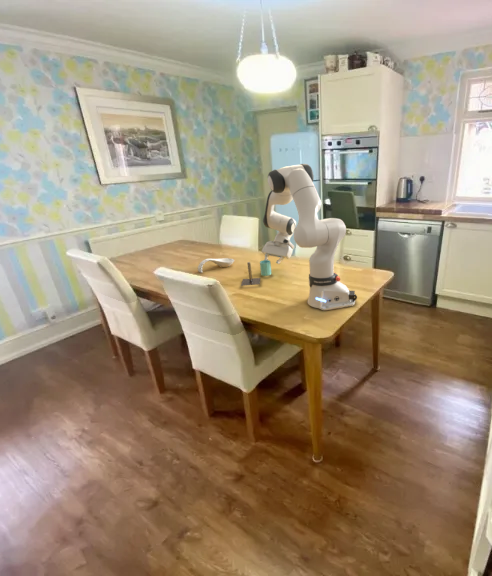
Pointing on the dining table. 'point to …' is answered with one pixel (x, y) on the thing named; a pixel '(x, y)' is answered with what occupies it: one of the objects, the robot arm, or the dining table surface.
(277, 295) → the dining table surface
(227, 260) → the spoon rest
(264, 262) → the teal hollow cylinder
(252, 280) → the stand
